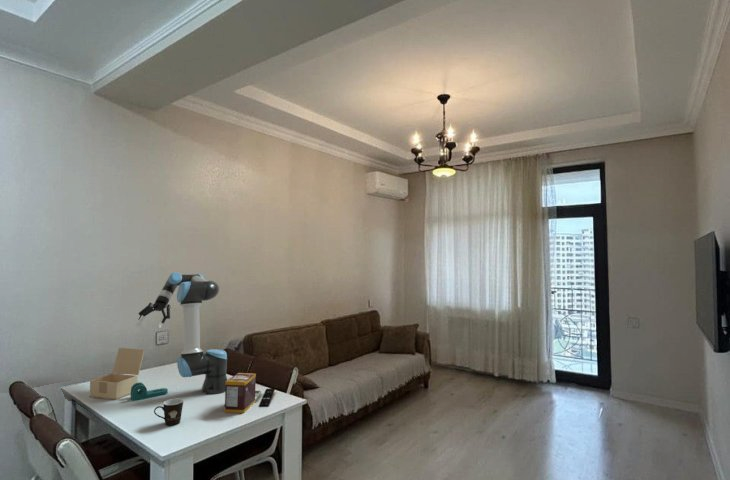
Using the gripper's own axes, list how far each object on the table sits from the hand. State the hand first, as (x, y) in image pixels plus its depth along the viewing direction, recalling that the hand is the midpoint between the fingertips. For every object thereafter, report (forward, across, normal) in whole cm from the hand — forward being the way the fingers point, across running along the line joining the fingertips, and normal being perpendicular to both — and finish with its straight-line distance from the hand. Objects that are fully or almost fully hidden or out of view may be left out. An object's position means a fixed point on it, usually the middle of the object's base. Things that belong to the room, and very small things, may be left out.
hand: (148, 326), depth 243 cm
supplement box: (+45, -76, +7) cm, 89 cm away
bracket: (+41, -20, -4) cm, 46 cm away
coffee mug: (+61, -51, +23) cm, 83 cm away
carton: (+41, +2, -5) cm, 42 cm away
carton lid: (+23, +2, -2) cm, 23 cm away
